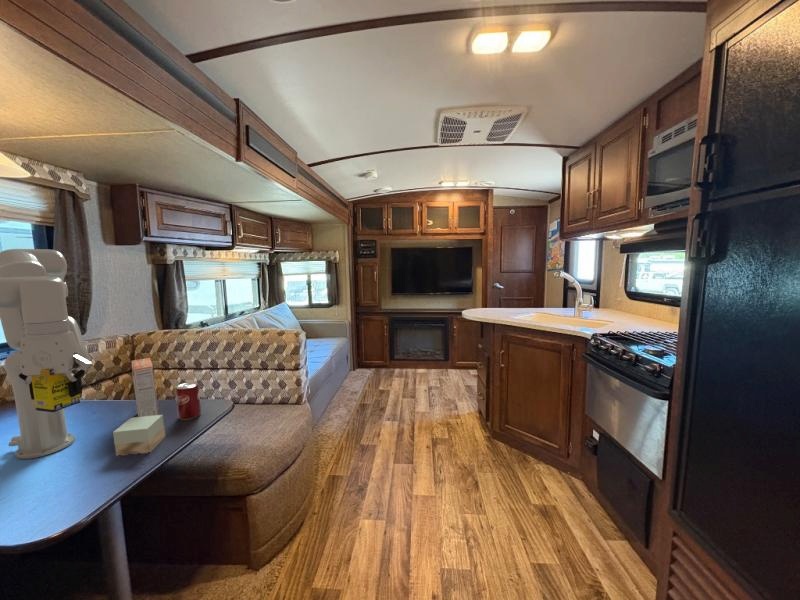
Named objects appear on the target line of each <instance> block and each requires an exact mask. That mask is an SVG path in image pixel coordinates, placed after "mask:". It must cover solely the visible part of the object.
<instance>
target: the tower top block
mask: <svg viewBox="0 0 800 600" xmlns="http://www.w3.org/2000/svg"><path fill="white" fill-rule="evenodd" d="M164 424H165V423H164V415H163V414H159V415H154V416H144V417H138V416H136V417H135V416H134V417H130V418H129V419H127V420H126V421H125V422H124V423H122V424H121V425H120V426H119V427H118V428H116V429H115V430H114V431H113V432H112V436H113V444H114V446H115V445H117V444H126V443H135V442H144V441H149V440H150V439H151V438H153V437H154V436H155V435H156V434H157V433H158V432H159V431H160V430H161V429H162V428H163V427H165V425H164Z"/></svg>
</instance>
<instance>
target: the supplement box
mask: <svg viewBox="0 0 800 600" xmlns="http://www.w3.org/2000/svg"><path fill="white" fill-rule="evenodd" d="M73 364H74V365H75V366H76V364H75V363H73ZM72 368H73V367H72ZM72 373H73V371H72ZM73 374H74V373H73ZM74 375H75V374H74ZM31 378H32V386H33V393H34V400H35V407H36V410H37V411H46V412H56V411H58V410H61V409H64V410H65V409H66V408H69V407H71V406H74V405H77V404H80V403H81V397H80V394H78V395H76V396H74V397H70V396H69V389H68V382H70V380H69V378H68V377H67V376H66V375H65V374H54V370H53V369H41V370H40V375H37V376H31Z"/></svg>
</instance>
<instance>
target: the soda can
mask: <svg viewBox="0 0 800 600" xmlns="http://www.w3.org/2000/svg"><path fill="white" fill-rule="evenodd" d="M174 391H175V398H176V399H175V400H176V408H177V409H176V410H177V411H176V412H177V418H178V419H179V420H180V421H189V420H193V418H194V419H195V418H198V417H199V416H201V414H202V405H201V395H200V393H201V392H200V385H199V383H198V382H196V381H188V382H184V383H180V384H178V385H177V386H176V387H175V390H174Z"/></svg>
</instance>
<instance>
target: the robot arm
mask: <svg viewBox="0 0 800 600" xmlns="http://www.w3.org/2000/svg"><path fill="white" fill-rule="evenodd" d="M67 271H68V263H67V259H66V258H65V255H63V254H62V253H61V252H60V251H58V250H56V249H49V248H47V249H46V248H45V249H43V248H41V249H40V248H11V249H5V250H2V251H0V323H1V327H2V331H3V334H4V338H5V340H6V343H7V345H8V346H9V347H10V348H11V349H13V350H17V351H16V352H15V351H14V352H13V353H11V354H10V355H8V356H7V357H6V358H5V360H4V368H5V369H4V370H5V372H6V374H7V377H8V380H9V381H10V384H11V387H12V392H13V396H14V402H15V403H14V404H15V409H16V415H17V419H18V420H17V421H18V427H19V434H20V435H16V436H15V435H14V436H12V438H11V439H10V442H9V443H8V444H7V445H8V447H16V446H17V450H15V452H14V453H15V457H16V458H17V459H18V460H19V459H20V460H29V459H35V458H40V457H44V456H47V455H50V454H54V453H56V452H59V451H61V450H64V449H65V448H68V446H70V445H72V444H73V443H74V442H75V440H76V435H74V434H73V433H69V432H68V430H67V428H68V427H67V423H66V414H65V408H64V409H61V410H58V411H56V412H46V411H37V410H36V407H35V400H34V393H33V386H32V378H31V376H37V375H40V370H41V369H53V370H54V374H65V375H66V376H67V377H68V378H69V380H70V382H68V389H69V396H70V397H74V396H76V395H78V394H79V395H80V394H82V393H83V385H82V378H84V376H85V375H86V374H87V373H88V372H89V370H90V369H91V368H92V366H93V362H91V361H90V359H89V353H88V350H87V347H86V344H85V341H84V339H83V334H82V332H81V329H80V326H79V324H78V321H77V320H76V319H75V318H73V317H72V316H69V314H68V307H67V297H68V296H69V287H68V284H67V282H66V281H64V279H65V278H66V275H67ZM73 363H75V364H76V366H75V365H74V364H73ZM72 367H73V368H72ZM72 371H73V373H74V374H75V375H74V374H73V373H72Z"/></svg>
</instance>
